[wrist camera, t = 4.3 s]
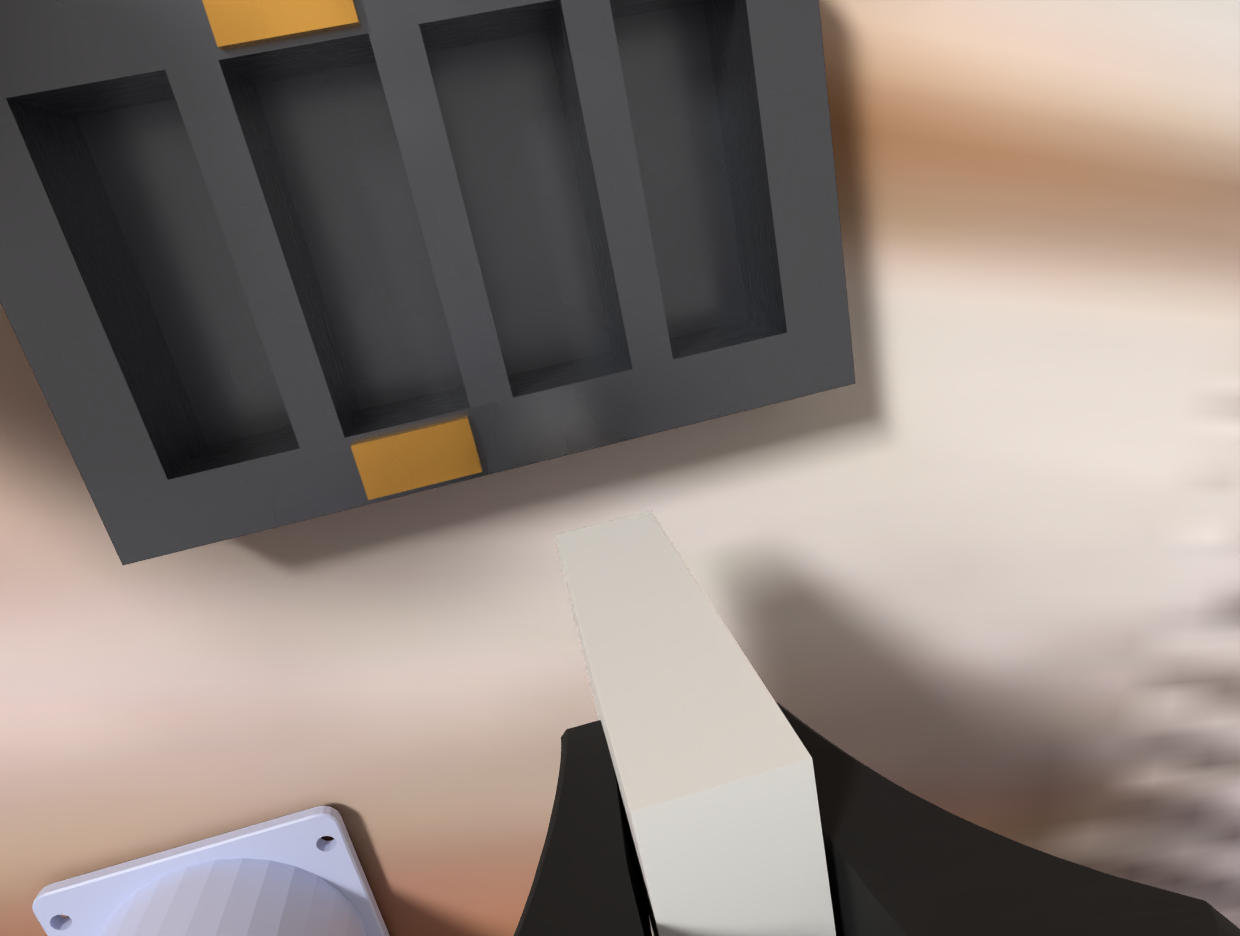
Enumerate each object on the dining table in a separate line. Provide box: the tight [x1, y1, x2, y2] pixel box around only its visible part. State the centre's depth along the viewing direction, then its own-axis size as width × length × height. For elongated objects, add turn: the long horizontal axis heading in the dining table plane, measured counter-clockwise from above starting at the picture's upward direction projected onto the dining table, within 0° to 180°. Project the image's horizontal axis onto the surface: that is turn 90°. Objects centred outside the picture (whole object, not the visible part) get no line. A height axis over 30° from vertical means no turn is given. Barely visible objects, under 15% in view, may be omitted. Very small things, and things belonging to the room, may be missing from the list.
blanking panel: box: [554, 511, 836, 936], centre depth 11 cm, size 6×2×7 cm, turn 11°
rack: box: [0, 0, 855, 565], centre depth 16 cm, size 10×16×3 cm, turn 101°
